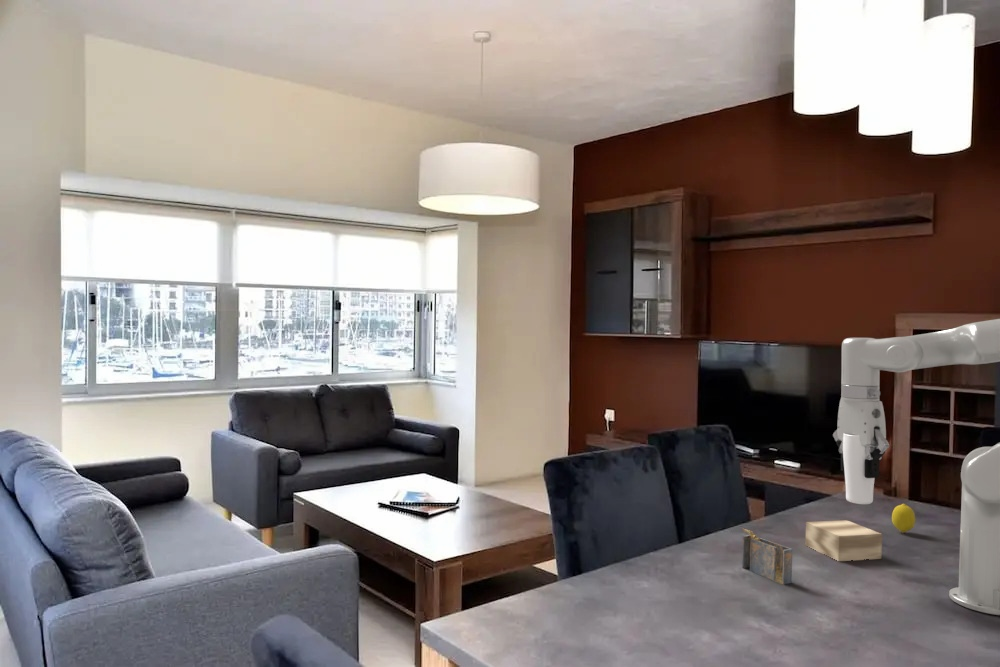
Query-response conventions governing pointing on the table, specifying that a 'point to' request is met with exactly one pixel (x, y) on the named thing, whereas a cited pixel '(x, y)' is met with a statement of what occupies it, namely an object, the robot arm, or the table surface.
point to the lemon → (903, 518)
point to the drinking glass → (856, 471)
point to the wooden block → (843, 540)
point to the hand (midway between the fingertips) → (859, 473)
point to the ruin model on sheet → (767, 558)
